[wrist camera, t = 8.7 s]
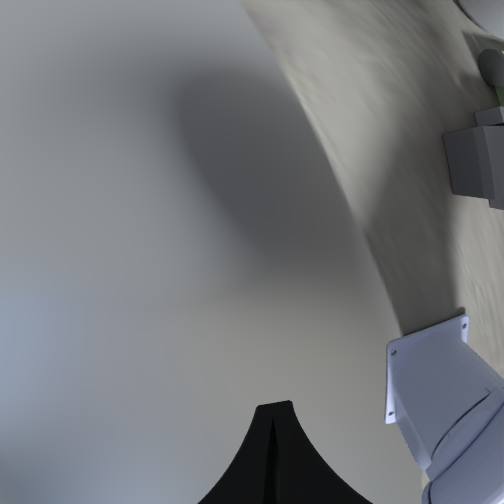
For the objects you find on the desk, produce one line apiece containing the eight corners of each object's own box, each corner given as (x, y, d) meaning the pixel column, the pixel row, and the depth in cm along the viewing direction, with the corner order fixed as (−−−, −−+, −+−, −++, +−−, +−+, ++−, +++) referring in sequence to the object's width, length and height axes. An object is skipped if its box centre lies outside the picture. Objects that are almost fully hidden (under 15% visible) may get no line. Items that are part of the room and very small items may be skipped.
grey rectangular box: (514, 182, 16) (552, 186, 12) (453, 194, 17) (494, 200, 12) (506, 131, 16) (543, 127, 11) (442, 133, 16) (483, 125, 12)
